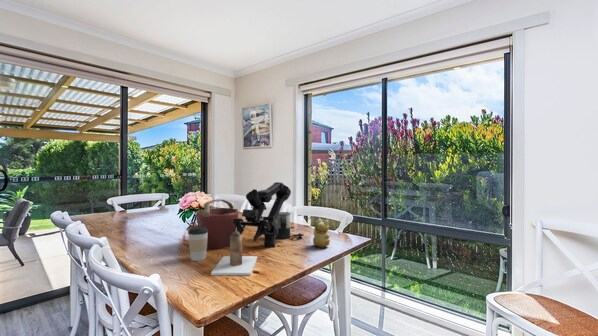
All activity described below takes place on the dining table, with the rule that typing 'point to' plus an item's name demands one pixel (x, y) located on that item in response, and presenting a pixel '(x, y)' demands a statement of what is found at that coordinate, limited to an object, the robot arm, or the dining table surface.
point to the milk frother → (284, 226)
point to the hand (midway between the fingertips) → (245, 240)
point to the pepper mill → (235, 249)
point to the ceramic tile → (228, 269)
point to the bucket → (217, 224)
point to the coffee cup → (198, 242)
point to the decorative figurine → (321, 234)
